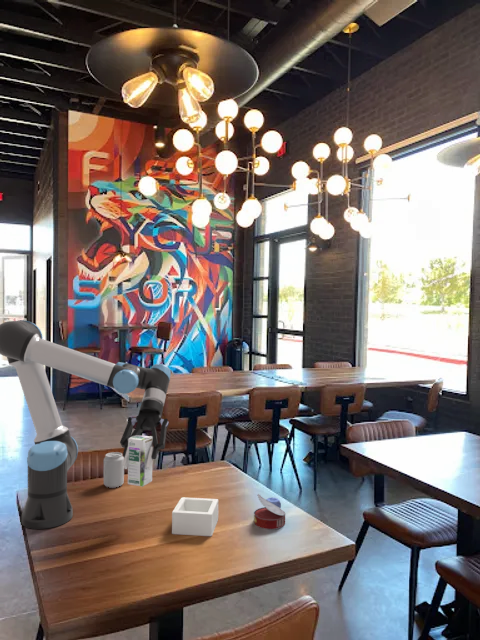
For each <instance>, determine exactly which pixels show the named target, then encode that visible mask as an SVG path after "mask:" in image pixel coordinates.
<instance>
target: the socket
mask: <svg viewBox="0 0 480 640" xmlns="http://www.w3.org/2000/svg"><path fill="white" fill-rule="evenodd" d="M218 520H219V499H218V498H206V497H205V498H202V497H187V496H186V497H184V496H183V497H182V496H181V498H180V499H179V501H178V502H177V504H176V506H175V507H174V509H173V510H172V512H171V534H172V535H184V536H185V535H186V536H202V537H213V534H214V531H215V529H216V526H217V524H218V522H219V521H218Z"/></svg>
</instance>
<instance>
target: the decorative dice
mask: <svg viewBox="0 0 480 640" xmlns="http://www.w3.org/2000/svg"><path fill="white" fill-rule="evenodd" d="M266 500H267V501H269V502H271V503H272V504H274V505H276V506H277V507H279V508H280V509H282V508H281V507H282V503H281V501H280V499H279V498H277V497H268V498H266Z"/></svg>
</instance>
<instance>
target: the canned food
mask: <svg viewBox="0 0 480 640" xmlns="http://www.w3.org/2000/svg"><path fill="white" fill-rule="evenodd" d="M257 498H258V500H259V502H260V504H261V505H262V506H263V507H261V508H257V509H255V511H254V512H253V514H254V515H253V516H254V517H253V518H254V519H253V521H254V525H256V526H257V527H258V528H261V529H265V530H277V529H280V528H283V527H284V526H285V525H286V512H285V511H284V510H283V509H282V508H279V507H277V506H276V505H274V504H272V503H271V502H269V501H267V498H266V499H265V498H264V497H263V496H261V494H259V493H258V494H257Z"/></svg>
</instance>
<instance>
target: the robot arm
mask: <svg viewBox="0 0 480 640" xmlns="http://www.w3.org/2000/svg"><path fill="white" fill-rule="evenodd" d="M0 355H1V356H3V357H6V358H7V362H8V364H9V366H11V367H13V368H15V371H16V373H17V377H18V380H19V383H20V386H21V389H22V392H23V394H24V395H23V396H24V399H25V402H26V405H27V407H28V411H29V413H30V416H31V420H32V424H33V426H34V428H35V429H34V430H35V433H36V436H35V437H34V440H33V442H34V445H33V446H31V447H30V448H29V450H28V452H27V457H26V463H27V498H26V502H25V505H24V508H23V511H22V513H21V525H22V526H23V527H25V528H28V529H33V530H34V529H35V530H44V529H51V528H55V527H59V526H62V525H64V524H66V523H68V522H69V521H71V520H72V518H73V511H74V509H73V505H72V504H71V501H70V498H69V497H70V496H69V495H68V471H69V470H70V468H71V467H72V466H73V465H74V464H75V462H76V461H77V458H78V453H79V446H78V443H77V441H76V439H74V437H73V436H71V433H70V430H69V428H68V427H67V426H65V425H63V423H62V419H61V417H60V413H59V410H58V406H57V404H56V400H55V399H54V395H53V391H52V389H51V388H52V387H51V385H50V381H49V379H48V375H47V372H46V370H45V366H46V367H48V368H52V369H55V370H57V371H61V372H64V373H67V374H70V375H73V376H76V377H79V378H82V379H85V380H88V381H91V382H94V383H96V384H100V385H102V386H103V385H104V386H105V387H109V388H111V389H115V391H116V392H117V393H120V394H123V395H125V394H130V393H132V392H135V390H136V389H140V390H144V393H143V395H142V396H143V397H142V400H141V403H140V407H139V412H138V414H137V416H136V417H133V418H132V417H130V416H129V417H127V424H126V426H125V429H124V431H123V434H122V436H121V439H120V442H119V443H120V445H121V448H124V449H123V452H122V456H123V457H124V462H123V466H124V470H128V439H129V438H130V437H132V436H135V435H141V434H142V433H143V432H144V431H150V432H151V436H153V447H151V448H150V452H149V456H148V460H147V464H146V467H147V469H148V470H151V465H152V466H153V460H156V459H157V456H158V452H159V450H164V449H165V447H166V439H167V438H166V437H167V429H168V427H169V425H170V422H169V420H168V418H162V416H163V415H162V414H163V410H164V406H165V402H166V398H167V393H168V390H169V386H170V381H171V375H172V374H171V373H172V371H171V369H170V367H168V366H167V365H165V364H161V363H159V364H156V363H155V364H153V365H152V366H151V367H150V368H149V367H142V366H138V365H135V364H131V363H127V362H122V361H121V362H120V361H118V362H117V363H113V362H110V361H108V360H104V359H103V358H102V359H101V358H99V357H96V356H93V355H90V354H87V353H84V352H81V351H78V350H76V349H72V348H69V347H67V346H64V345H61V344H57V343H55V342H53V341H49V340H47V339H43V333H42V331H41V328H39V326H38V325H36V324H35V323H33V322H31V321H28V320H25V319H24V320H23V319H20V320H9V321H5V322H2V323H0ZM136 423H137V424H136ZM135 424H136V426H135ZM160 425H161V427H160V435H159V436H160V437H159V441H158V436H157V429H156V428H157V427H158V426H160ZM134 426H135V428H134V430H133V427H134ZM132 430H133V432H132Z"/></svg>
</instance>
